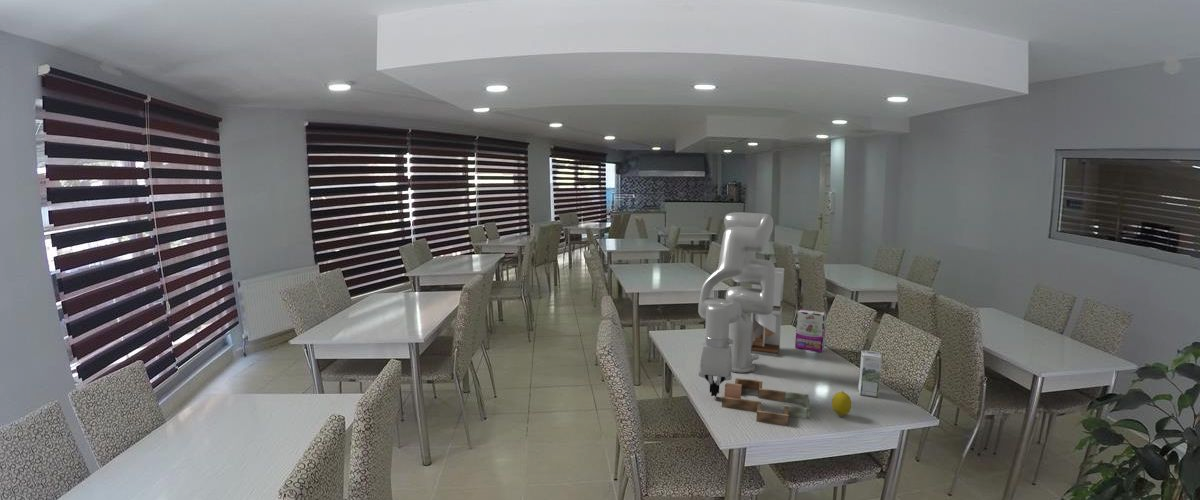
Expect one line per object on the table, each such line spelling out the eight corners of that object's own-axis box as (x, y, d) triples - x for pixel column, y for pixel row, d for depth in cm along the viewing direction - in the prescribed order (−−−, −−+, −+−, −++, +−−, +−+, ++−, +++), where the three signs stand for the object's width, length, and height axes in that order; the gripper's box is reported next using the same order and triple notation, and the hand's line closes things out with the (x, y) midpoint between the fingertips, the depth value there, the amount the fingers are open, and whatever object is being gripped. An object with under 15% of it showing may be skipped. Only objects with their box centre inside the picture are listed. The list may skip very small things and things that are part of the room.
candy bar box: (824, 349, 234) (827, 312, 232) (822, 353, 230) (824, 315, 228) (797, 345, 240) (799, 308, 238) (794, 348, 236) (796, 311, 234)
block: (724, 402, 180) (724, 388, 179) (725, 396, 185) (726, 382, 184) (739, 404, 179) (740, 390, 178) (740, 399, 183) (741, 384, 183)
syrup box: (875, 391, 190) (879, 351, 188) (878, 398, 185) (882, 356, 183) (857, 389, 192) (861, 349, 190) (859, 395, 187) (863, 354, 185)
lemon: (827, 412, 173) (829, 388, 172) (844, 412, 174) (846, 387, 173) (836, 420, 168) (838, 395, 167) (853, 419, 168) (856, 395, 167)
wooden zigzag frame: (719, 415, 170) (719, 406, 170) (726, 384, 195) (727, 376, 194) (810, 428, 162) (811, 419, 162) (806, 395, 187) (807, 386, 186)
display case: (748, 353, 229) (752, 270, 224) (751, 345, 239) (756, 266, 234) (777, 357, 225) (782, 272, 220) (779, 349, 234) (784, 268, 229)
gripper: (740, 340, 182) (738, 393, 184) (695, 336, 186) (693, 387, 189) (739, 347, 175) (736, 402, 177) (692, 342, 179) (690, 396, 182)
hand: (714, 394), depth 183 cm, fingers closed
